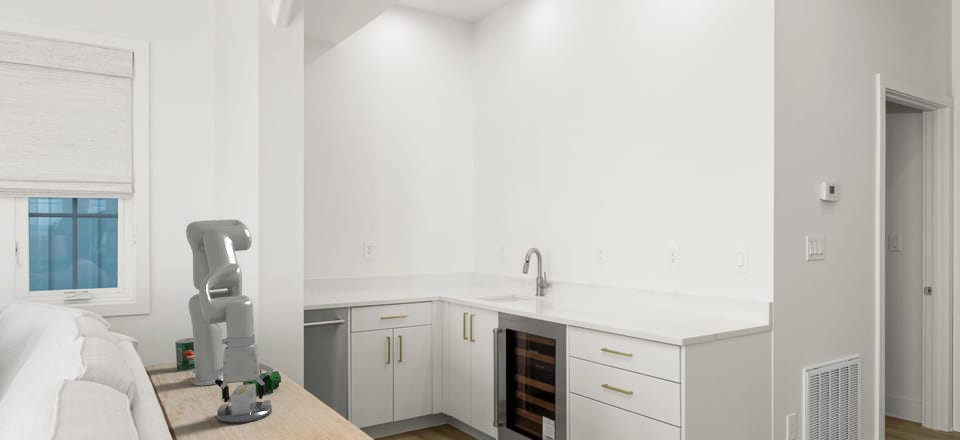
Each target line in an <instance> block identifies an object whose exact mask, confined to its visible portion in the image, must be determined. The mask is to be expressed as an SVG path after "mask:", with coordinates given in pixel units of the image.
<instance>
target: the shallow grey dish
mask: <svg viewBox="0 0 960 440" xmlns="http://www.w3.org/2000/svg"><path fill="white" fill-rule="evenodd" d="M272 413H273V406H272V400H271V399H268V400H263V401H257V404H256V405H255V407H254V409H253V410H252V412H251V414H249V415H239V416H232V410H231V405H229V404H228V403H225V404H221V405H220V406H219V408H217V414H216V415H217V417H216V419H217V422H219V423H220V424H224V425H242V424H249V423H253V422H257V421H261V420H263V419H265V418H267V417H269V416H270V415H271V414H272Z"/></svg>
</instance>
